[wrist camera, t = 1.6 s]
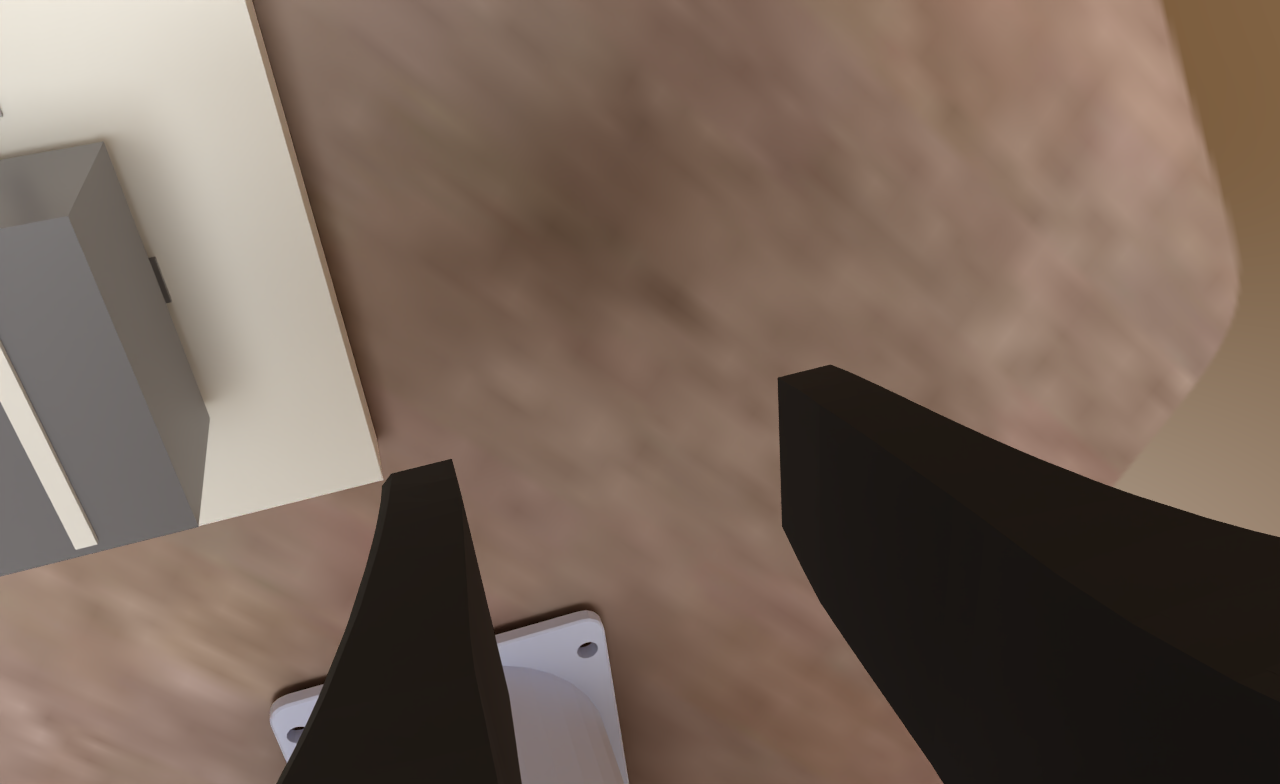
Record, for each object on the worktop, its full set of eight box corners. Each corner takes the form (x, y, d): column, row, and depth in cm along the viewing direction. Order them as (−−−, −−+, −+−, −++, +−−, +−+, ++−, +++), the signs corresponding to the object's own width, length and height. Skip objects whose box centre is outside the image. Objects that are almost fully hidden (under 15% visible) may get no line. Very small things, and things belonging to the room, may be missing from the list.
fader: (209, 418, 18) (197, 530, 15) (26, 460, 18) (-19, 585, 15) (103, 141, 16) (66, 218, 13) (-116, 180, 15) (-204, 269, 12)
